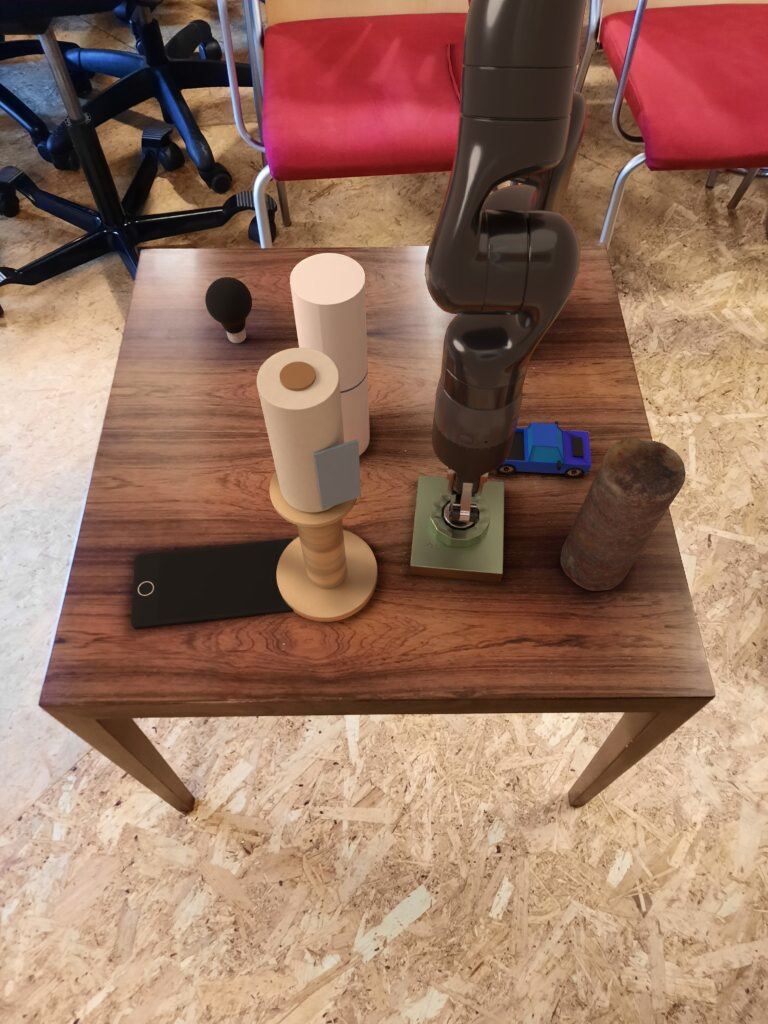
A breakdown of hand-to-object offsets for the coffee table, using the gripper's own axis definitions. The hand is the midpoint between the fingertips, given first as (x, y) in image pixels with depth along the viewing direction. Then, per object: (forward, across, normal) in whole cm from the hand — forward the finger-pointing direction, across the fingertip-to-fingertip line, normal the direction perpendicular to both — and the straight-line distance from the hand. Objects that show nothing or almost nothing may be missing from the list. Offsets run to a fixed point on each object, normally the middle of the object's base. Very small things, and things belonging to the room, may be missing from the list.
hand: (459, 513), depth 80 cm
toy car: (+4, +11, -9) cm, 15 cm away
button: (+2, 0, 0) cm, 2 cm away
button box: (+4, 0, 0) cm, 4 cm away
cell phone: (+5, -9, +26) cm, 28 cm away
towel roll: (-14, -7, +14) cm, 21 cm away
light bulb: (+4, +27, +31) cm, 41 cm away
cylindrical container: (+4, +12, +15) cm, 20 cm away
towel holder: (+4, -7, +14) cm, 16 cm away
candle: (+4, -3, -15) cm, 16 cm away
